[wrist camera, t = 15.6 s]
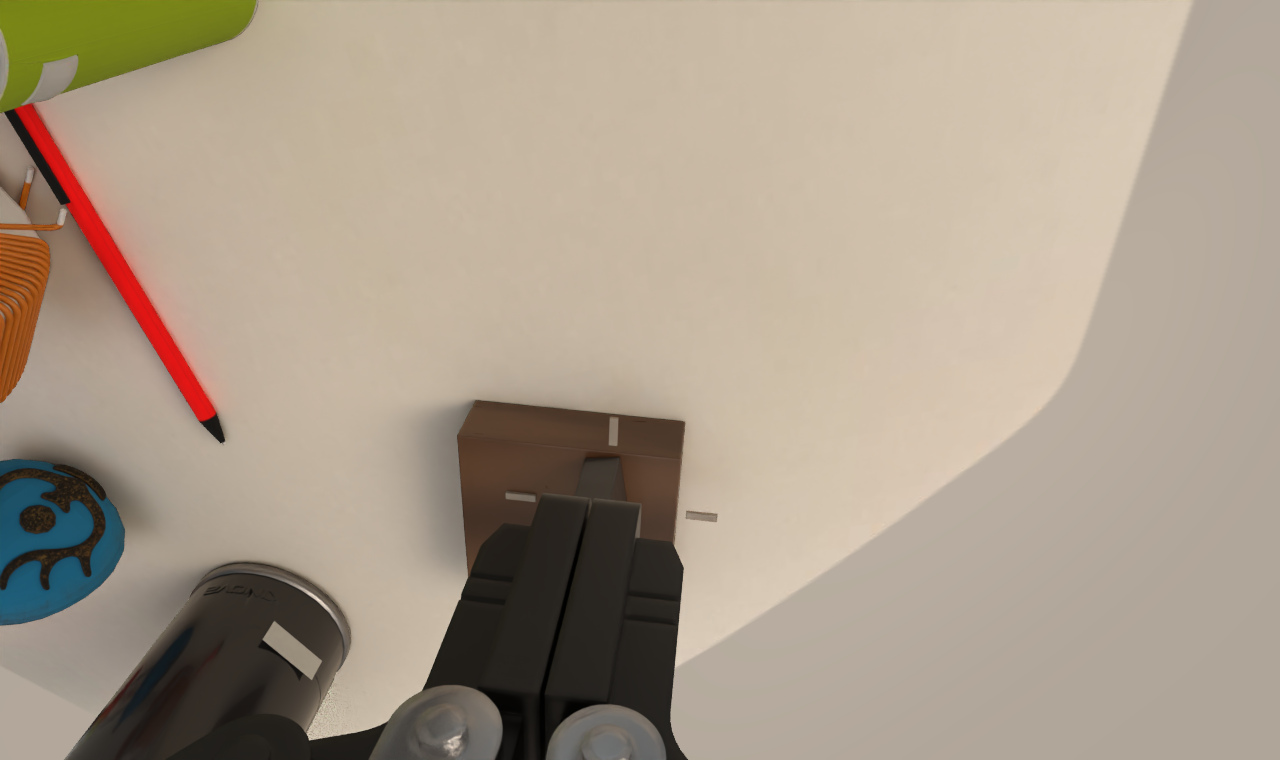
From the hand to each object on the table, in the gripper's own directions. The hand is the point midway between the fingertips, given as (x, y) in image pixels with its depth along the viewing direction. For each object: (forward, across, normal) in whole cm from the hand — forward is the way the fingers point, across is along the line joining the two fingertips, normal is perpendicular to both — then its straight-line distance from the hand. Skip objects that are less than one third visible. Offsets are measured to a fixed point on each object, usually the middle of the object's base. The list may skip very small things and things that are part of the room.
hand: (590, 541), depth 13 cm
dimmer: (+23, +3, +17) cm, 29 cm away
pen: (+23, +25, +8) cm, 35 cm away
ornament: (+23, +31, +21) cm, 44 cm away
